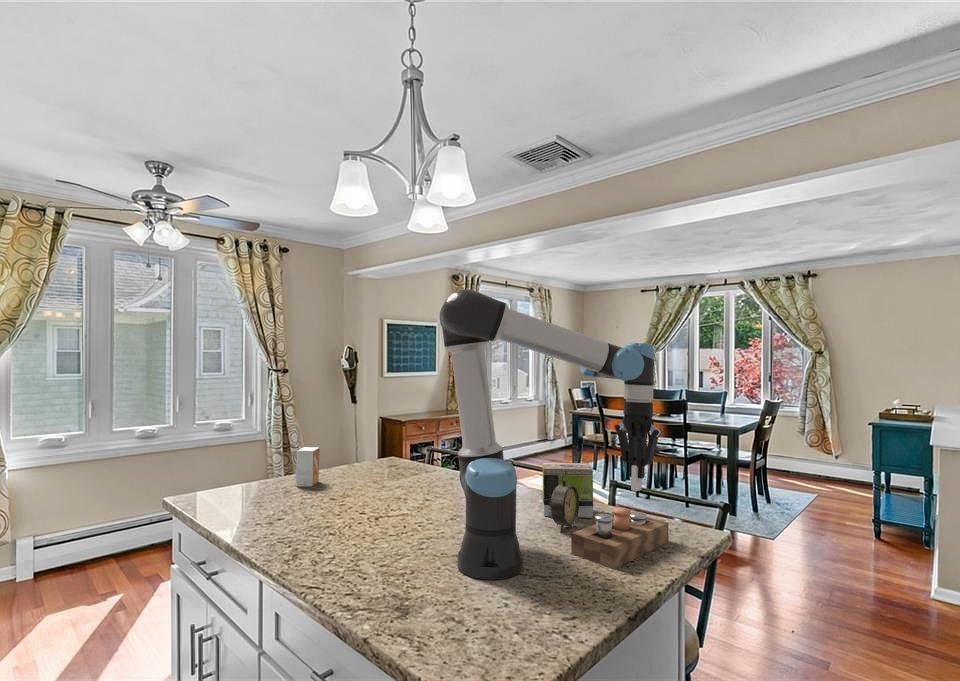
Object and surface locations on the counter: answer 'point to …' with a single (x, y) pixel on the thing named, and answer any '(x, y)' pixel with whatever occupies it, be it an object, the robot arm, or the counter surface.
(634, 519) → the grey plug far
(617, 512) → the terracotta plug
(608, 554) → the walnut block
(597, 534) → the grey plug near
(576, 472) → the tea box
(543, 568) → the counter surface
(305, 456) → the small box
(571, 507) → the alarm clock
